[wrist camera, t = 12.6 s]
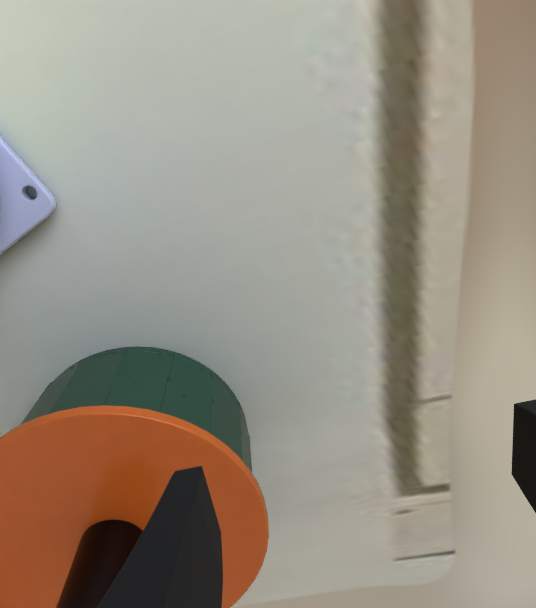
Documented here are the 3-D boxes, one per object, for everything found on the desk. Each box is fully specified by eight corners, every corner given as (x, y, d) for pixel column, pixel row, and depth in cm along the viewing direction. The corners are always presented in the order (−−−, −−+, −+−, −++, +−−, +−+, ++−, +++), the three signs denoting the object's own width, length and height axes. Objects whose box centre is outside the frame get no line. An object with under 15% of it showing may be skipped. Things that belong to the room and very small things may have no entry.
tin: (-13, 426, 21) (-88, 520, 16) (156, 304, 19) (131, 365, 14) (134, 547, 24) (109, 656, 19) (286, 451, 23) (303, 542, 18)
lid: (-5, 626, 19) (-69, 763, 15) (-67, 396, 15) (-178, 498, 11) (262, 611, 20) (270, 735, 16) (271, 392, 16) (287, 483, 12)
